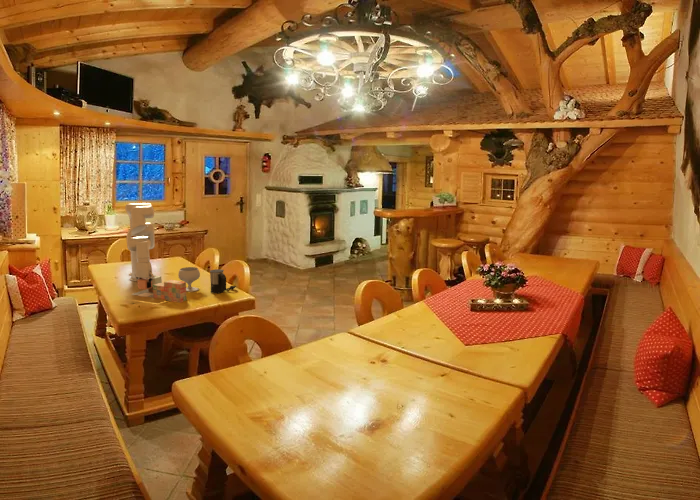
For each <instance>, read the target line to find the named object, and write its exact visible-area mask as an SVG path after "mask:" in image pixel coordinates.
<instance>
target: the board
mask: <svg viewBox="0 0 700 500" xmlns="http://www.w3.org/2000/svg"><path fill="white" fill-rule="evenodd" d="M132 295H133V296H139V297H145V298H147V297H148V298H154V294H153V293H152V292H149V291H148V289H146V290H144V289H142V290H141V291H138V292H133V293H131V296H132ZM154 299H155V298H154Z"/></svg>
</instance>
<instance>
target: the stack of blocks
mask: <svg viewBox="0 0 700 500" xmlns="http://www.w3.org/2000/svg"><path fill="white" fill-rule="evenodd" d="M186 288H187V283H186V282H184V281H182V280H174V279H168V280H166V281H164V282H162V283H157V284H155V285H153V294H154V299H160V300H161V299H162V300H165V301H167V302H168V301H169V302H173V303H183V302H185V301H187V299H188V298H187V291H186Z"/></svg>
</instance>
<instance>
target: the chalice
mask: <svg viewBox="0 0 700 500" xmlns="http://www.w3.org/2000/svg"><path fill="white" fill-rule="evenodd" d="M200 276H201V272H200V270H199V268H198V267H195V266H186V267H182V268H180V269H179V271H178V276H177V277H178V279H179V281H182V282H186V285H188V286H187V287H186V292H188V293H194V292H198V291H200V288H198V287H195V286H192V284H193V283H194V282H196V281H197V280H199V279H200Z"/></svg>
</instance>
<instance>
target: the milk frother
mask: <svg viewBox="0 0 700 500" xmlns="http://www.w3.org/2000/svg"><path fill="white" fill-rule="evenodd" d="M224 271H225V270H224V269H217V268H216V269H211V270H209V277H210V293H212V294H222V293H224V292H225V291H229V290H231V289H232V290H234V289H235V288H237V285H230V286H229V287H227V277H226V275H225V273H224Z"/></svg>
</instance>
